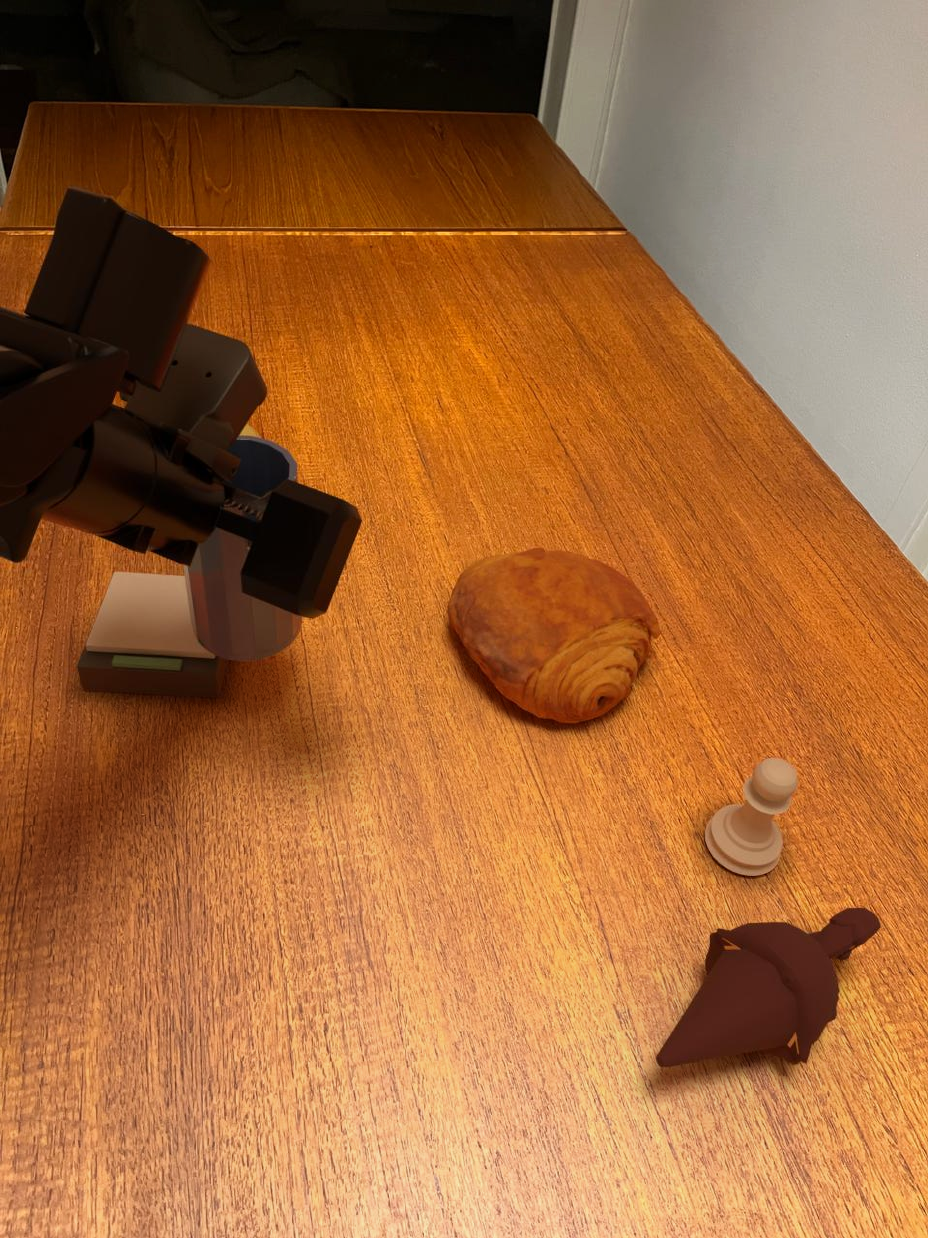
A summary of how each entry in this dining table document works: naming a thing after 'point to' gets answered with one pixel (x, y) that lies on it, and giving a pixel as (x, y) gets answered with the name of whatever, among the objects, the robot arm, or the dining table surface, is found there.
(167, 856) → the dining table surface
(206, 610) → the cup
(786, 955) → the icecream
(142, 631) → the scale
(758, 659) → the dining table surface
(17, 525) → the robot arm
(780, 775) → the chess piece
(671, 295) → the dining table surface
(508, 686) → the croissant
